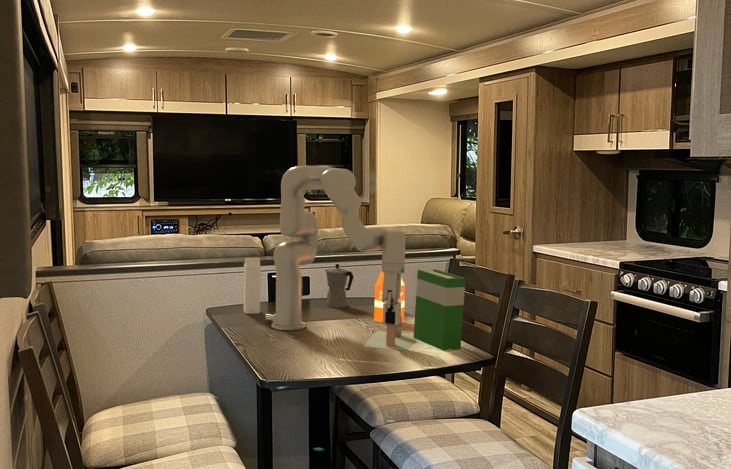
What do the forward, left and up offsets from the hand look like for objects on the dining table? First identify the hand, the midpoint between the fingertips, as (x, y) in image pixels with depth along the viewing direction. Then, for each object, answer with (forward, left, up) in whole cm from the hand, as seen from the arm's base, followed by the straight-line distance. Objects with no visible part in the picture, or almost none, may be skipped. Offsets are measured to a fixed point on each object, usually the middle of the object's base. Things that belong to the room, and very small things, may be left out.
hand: (391, 321), depth 226 cm
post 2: (0, +13, -8) cm, 15 cm away
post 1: (0, 0, -8) cm, 8 cm away
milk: (-63, +34, -9) cm, 72 cm away
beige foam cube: (0, 0, 0) cm, 0 cm away
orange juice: (-7, +35, -9) cm, 37 cm away
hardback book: (+14, +8, -9) cm, 19 cm away
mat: (-1, +7, -9) cm, 11 cm away
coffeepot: (-33, +57, -9) cm, 66 cm away
